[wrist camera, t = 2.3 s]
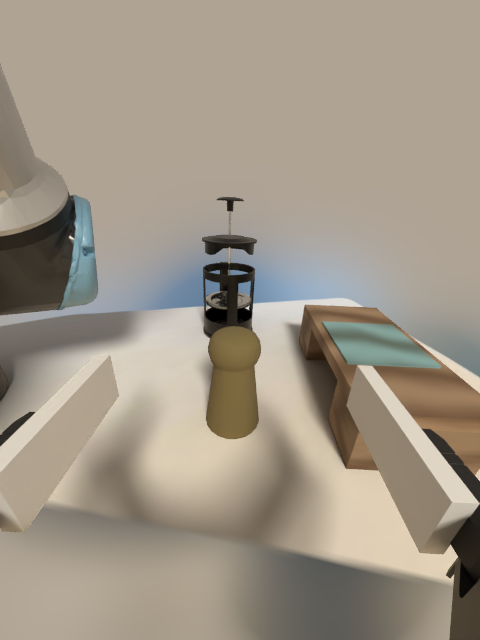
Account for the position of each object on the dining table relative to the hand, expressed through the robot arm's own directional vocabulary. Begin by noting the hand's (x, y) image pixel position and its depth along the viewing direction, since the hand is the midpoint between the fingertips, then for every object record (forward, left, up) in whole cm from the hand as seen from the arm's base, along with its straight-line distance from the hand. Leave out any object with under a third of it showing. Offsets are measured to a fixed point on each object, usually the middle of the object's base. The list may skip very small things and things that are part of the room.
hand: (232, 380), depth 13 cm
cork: (-9, +5, -14) cm, 17 cm away
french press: (-29, +14, -14) cm, 35 cm away
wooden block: (-6, +23, -14) cm, 27 cm away
